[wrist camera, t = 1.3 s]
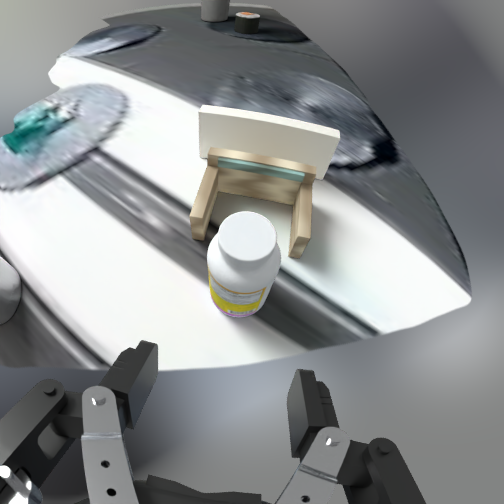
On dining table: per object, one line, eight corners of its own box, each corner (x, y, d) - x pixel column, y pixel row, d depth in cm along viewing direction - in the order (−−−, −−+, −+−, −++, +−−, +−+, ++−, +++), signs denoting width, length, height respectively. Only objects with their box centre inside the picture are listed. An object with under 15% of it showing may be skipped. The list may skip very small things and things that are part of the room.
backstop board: (199, 157, 44) (198, 111, 36) (203, 149, 45) (202, 104, 37) (322, 180, 44) (340, 138, 36) (322, 171, 45) (339, 130, 37)
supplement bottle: (237, 256, 36) (246, 188, 25) (277, 291, 34) (306, 234, 23) (198, 292, 33) (188, 233, 22) (239, 330, 31) (251, 290, 20)
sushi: (246, 35, 78) (249, 16, 71) (230, 30, 80) (231, 12, 73) (261, 32, 81) (264, 14, 74) (245, 27, 83) (247, 10, 76)
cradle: (192, 238, 36) (188, 205, 30) (210, 182, 41) (210, 146, 35) (299, 258, 37) (315, 228, 31) (303, 199, 42) (316, 166, 36)
